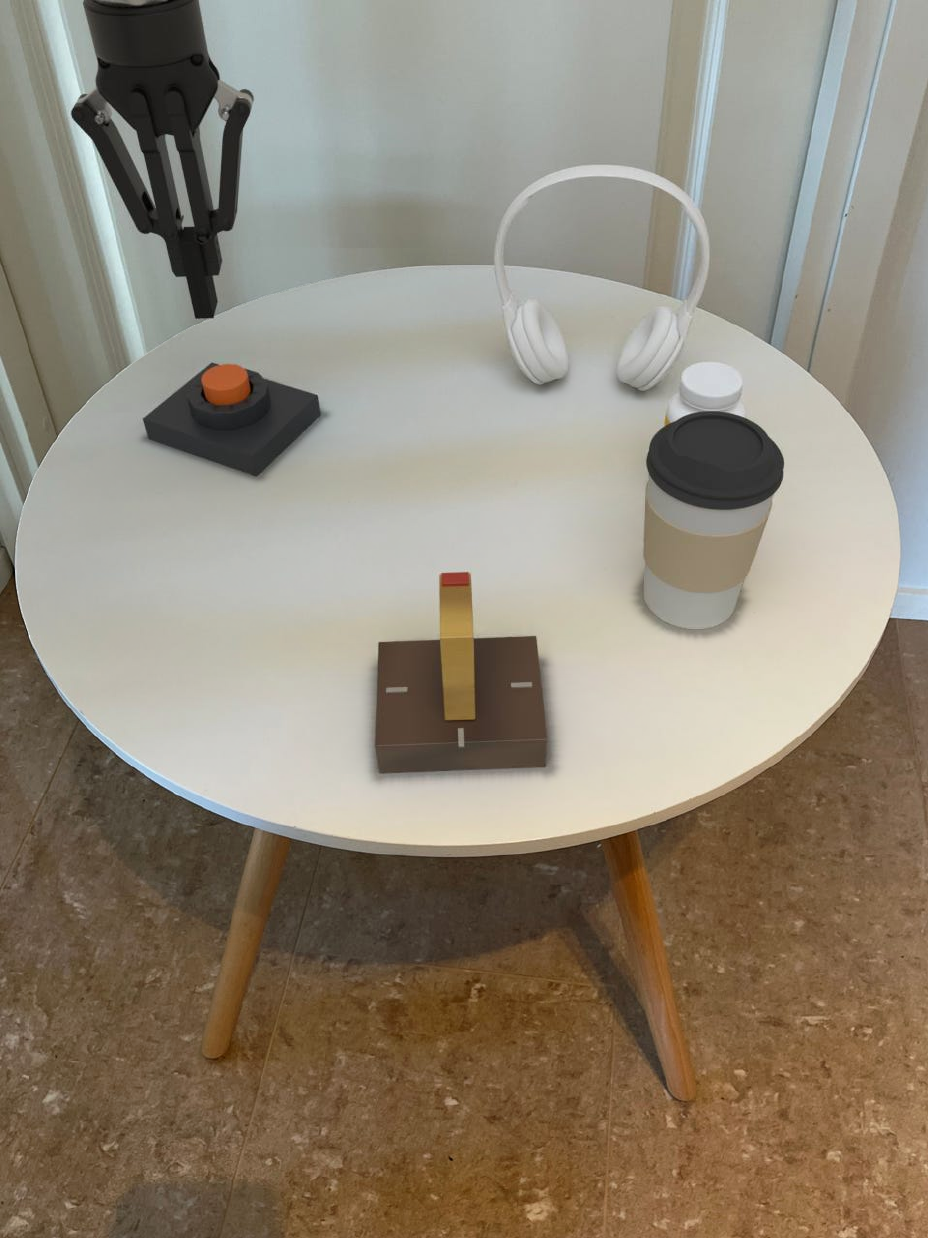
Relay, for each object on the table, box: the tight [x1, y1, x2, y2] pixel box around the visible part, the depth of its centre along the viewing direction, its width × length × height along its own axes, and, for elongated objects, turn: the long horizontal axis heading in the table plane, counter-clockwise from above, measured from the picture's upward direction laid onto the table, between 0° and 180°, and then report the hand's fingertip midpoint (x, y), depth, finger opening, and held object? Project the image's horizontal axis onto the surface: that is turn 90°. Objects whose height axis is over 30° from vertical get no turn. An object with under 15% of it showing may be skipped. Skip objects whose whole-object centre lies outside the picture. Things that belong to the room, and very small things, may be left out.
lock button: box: [202, 363, 251, 405], centre depth 93 cm, size 4×4×2 cm
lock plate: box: [374, 635, 548, 774], centre depth 71 cm, size 11×10×3 cm
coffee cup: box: [642, 411, 785, 630], centre depth 74 cm, size 9×9×15 cm
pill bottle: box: [664, 361, 747, 426], centre depth 84 cm, size 6×6×11 cm
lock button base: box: [142, 362, 322, 477], centre depth 95 cm, size 12×10×4 cm
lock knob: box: [438, 571, 475, 720], centre depth 67 cm, size 6×2×8 cm, turn 1°
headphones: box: [493, 164, 711, 391], centre depth 92 cm, size 7×18×20 cm, turn 82°
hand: (206, 309), depth 87 cm, fingers closed
